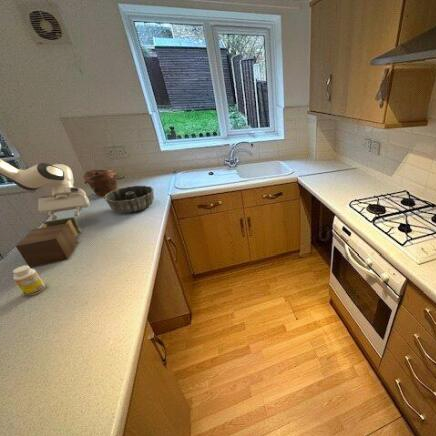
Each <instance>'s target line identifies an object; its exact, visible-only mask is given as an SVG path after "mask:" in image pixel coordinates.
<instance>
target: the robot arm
mask: <svg viewBox="0 0 436 436" xmlns="http://www.w3.org/2000/svg"><path fill="white" fill-rule="evenodd" d="M1 149H2V143H1V142H0V150H1ZM0 176H2V177H4V178H5V179H7V180H9V181H11V182H12V183H13V184H15V185H16V186H17V187H19V188H21V189H23V190H24V191H25V190H26V191H33V192H34V191H36V190H39V189H40V188H42V187H45V186H47V185H50V186H51V194H49V195H42V196H41V197H39V198H38V205H37V210H38V212H39V213H41V214H44V215H45V214H48V215H49V216H50V219H51V220H57V219H58V218H57V216H56V215H55V213H59V212H65V211H71V210H76V211H74V212H73V214H74V217H79V216H80V214H81V212H82V210H83V209H85V208H89V207H90V201H89V200H90V199H89V197H88V196H87V192H86V191H85V190H83V189H82V188H80V187H75V186H74V183H75V179H74V174H73V171H72V169H71V168H70V167H69V166H68V165H66V164H62V163H55V164H50V163H48V162H40V163H37V164H34V165H32V166H31V167H28V168H26V169H19V168H17V167H14V166H13V165H12V164H10V163H8V162H7V161H5V160H3V159H1V158H0Z"/></svg>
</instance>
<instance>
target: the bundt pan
mask: <svg viewBox="0 0 436 436" xmlns="http://www.w3.org/2000/svg"><path fill="white" fill-rule="evenodd" d="M103 199H104V201H105V202H106V203H107V205H108V206H109V208H110V209H112V210H113V211H114V212H118V213H120V214H124V213H126V214H127V213H132V212H134V213H136V212H137V211H142V210H144V209H148V208H149V207H150V206H151V205H152V204H153V203H154V200H155V196H154V188H153V187H152V186H150V185H149V186H148V185H132V186H130V185H129V186H126V187H119V188H117V190H115V191H111V192H110V193H108V194H106V195H105V196H104V197H103Z"/></svg>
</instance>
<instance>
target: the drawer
mask: <svg viewBox="0 0 436 436" xmlns="http://www.w3.org/2000/svg"><path fill="white" fill-rule="evenodd" d="M42 222H43V221H42ZM67 223H68V224H69V226H70V228H71V230H72V232H73V234H74V236H75V238H76V239H77V236H78V234H82V230H81V228H80V226H79V224H78V222H77V220H76V218H75V216H71V217H65V218H57V219H56V220H52V219H51V220H46V221H45V220H44V222H43V225H42V226H41V227H40V228H43V227H49V226H55V225H61V224H67Z"/></svg>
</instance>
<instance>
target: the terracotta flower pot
mask: <svg viewBox="0 0 436 436" xmlns="http://www.w3.org/2000/svg"><path fill="white" fill-rule="evenodd" d="M117 176H118V173H117V172H116V170H114V169H107V170H106V169H105V170H104V169H91V170H87V171H86V172H85V173H84V174H83V181H84V185H88V186H89V187H90V188H91V189H92V191H93V193H94V194H95V196H97V197H103V198H104V197H105V195H106V194H108V193H110V192H111V191H115V190H117V189H118V185H117V184H118V181H117Z"/></svg>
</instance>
